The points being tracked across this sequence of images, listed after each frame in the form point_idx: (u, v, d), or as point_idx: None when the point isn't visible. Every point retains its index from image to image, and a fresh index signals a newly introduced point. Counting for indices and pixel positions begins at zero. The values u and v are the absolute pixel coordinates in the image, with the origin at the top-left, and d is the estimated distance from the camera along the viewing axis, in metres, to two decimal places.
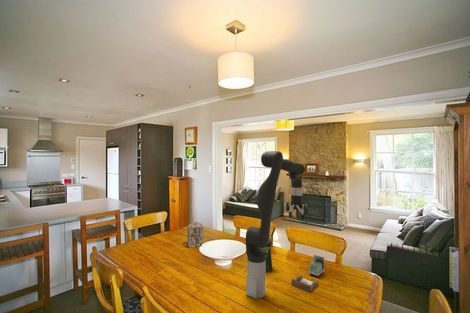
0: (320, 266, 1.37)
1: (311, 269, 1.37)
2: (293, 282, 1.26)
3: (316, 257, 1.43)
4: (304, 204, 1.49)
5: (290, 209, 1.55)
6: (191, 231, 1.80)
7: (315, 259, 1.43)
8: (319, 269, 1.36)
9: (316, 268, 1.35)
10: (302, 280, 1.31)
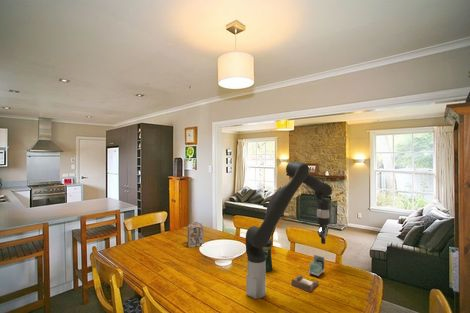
0: (320, 266, 1.37)
1: (311, 269, 1.37)
2: (293, 282, 1.26)
3: (316, 257, 1.43)
4: (326, 226, 1.51)
5: (324, 234, 1.46)
6: (191, 231, 1.80)
7: (315, 259, 1.43)
8: (319, 269, 1.36)
9: (316, 268, 1.35)
10: (302, 280, 1.31)
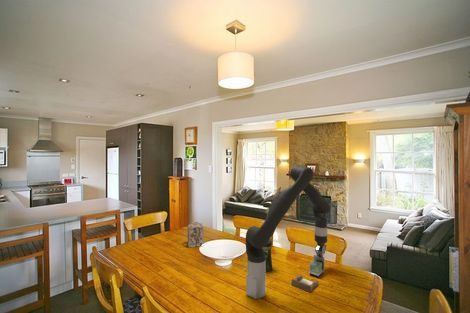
0: (320, 266, 1.37)
1: (311, 269, 1.37)
2: (293, 282, 1.26)
3: (316, 257, 1.43)
4: (324, 244, 1.49)
5: (322, 253, 1.43)
6: (191, 231, 1.80)
7: (315, 259, 1.43)
8: (319, 269, 1.36)
9: (316, 268, 1.35)
10: (302, 280, 1.31)
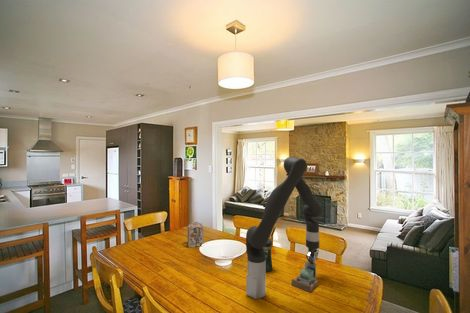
0: (311, 274, 1.28)
1: (302, 277, 1.28)
2: (293, 282, 1.26)
3: (307, 264, 1.33)
4: (316, 249, 1.39)
5: (313, 259, 1.34)
6: (191, 231, 1.80)
7: (306, 266, 1.34)
8: (310, 277, 1.27)
9: (307, 276, 1.26)
10: None
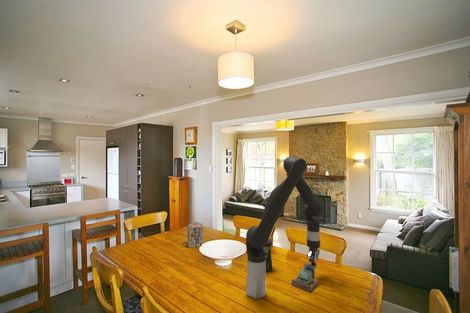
0: (310, 275, 1.26)
1: (300, 278, 1.26)
2: (293, 282, 1.26)
3: (306, 265, 1.32)
4: (317, 249, 1.39)
5: (314, 259, 1.33)
6: (191, 231, 1.80)
7: (305, 267, 1.32)
8: (309, 278, 1.25)
9: (305, 277, 1.24)
10: None
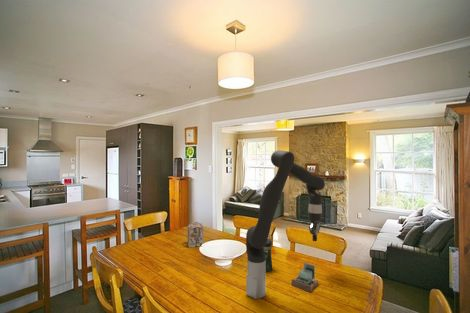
0: (310, 275, 1.26)
1: (300, 278, 1.26)
2: (293, 282, 1.26)
3: (306, 265, 1.32)
4: (319, 223, 1.42)
5: (316, 231, 1.36)
6: (191, 231, 1.80)
7: (305, 267, 1.32)
8: (309, 278, 1.25)
9: (305, 277, 1.24)
10: None
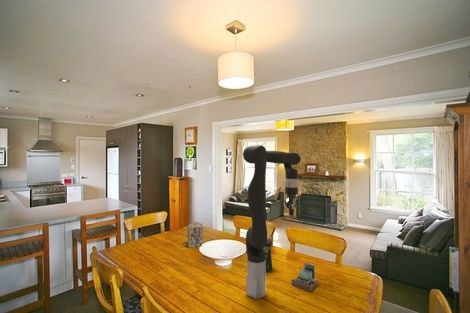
0: (310, 275, 1.26)
1: (300, 278, 1.26)
2: (293, 282, 1.26)
3: (306, 265, 1.32)
4: (296, 198, 1.43)
5: (292, 205, 1.38)
6: (191, 231, 1.80)
7: (305, 267, 1.32)
8: (309, 278, 1.25)
9: (305, 277, 1.24)
10: None
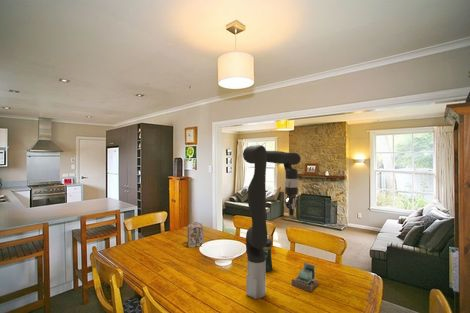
0: (310, 275, 1.26)
1: (300, 278, 1.26)
2: (293, 282, 1.26)
3: (306, 265, 1.32)
4: (296, 198, 1.43)
5: (292, 205, 1.38)
6: (191, 231, 1.80)
7: (305, 267, 1.32)
8: (309, 278, 1.25)
9: (305, 277, 1.24)
10: None
